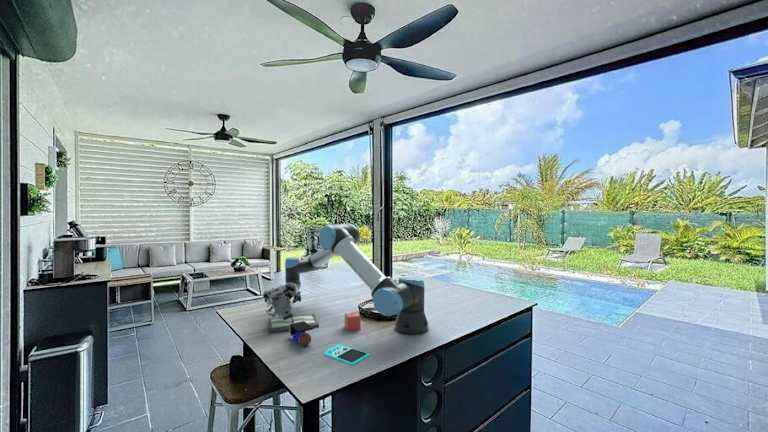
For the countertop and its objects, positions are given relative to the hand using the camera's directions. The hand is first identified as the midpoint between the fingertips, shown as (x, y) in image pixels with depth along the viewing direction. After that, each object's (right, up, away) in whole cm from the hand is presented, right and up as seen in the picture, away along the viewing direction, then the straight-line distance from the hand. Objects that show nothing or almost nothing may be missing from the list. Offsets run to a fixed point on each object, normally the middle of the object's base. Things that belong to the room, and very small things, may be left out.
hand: (279, 303), depth 157 cm
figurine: (0, -8, +5) cm, 9 cm away
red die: (+33, -11, +2) cm, 35 cm away
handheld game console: (+33, -13, -26) cm, 44 cm away
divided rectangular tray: (+4, -11, +6) cm, 14 cm away
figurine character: (+13, -12, -13) cm, 22 cm away
